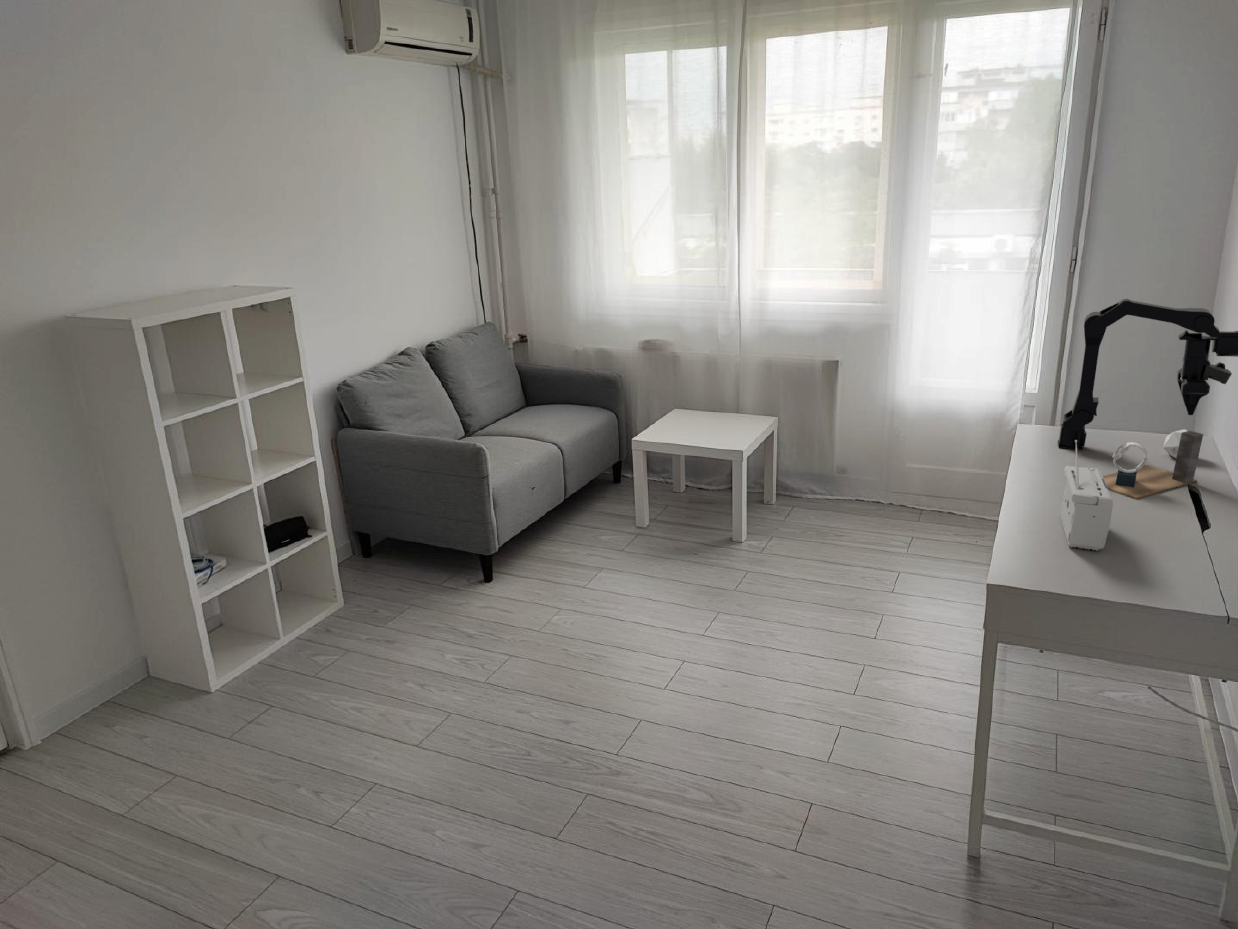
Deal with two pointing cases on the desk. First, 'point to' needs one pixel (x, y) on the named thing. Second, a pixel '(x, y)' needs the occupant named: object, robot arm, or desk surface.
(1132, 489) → the pull board
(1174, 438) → the die
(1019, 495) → the desk surface
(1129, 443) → the watch
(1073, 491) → the stereo radio cassette player
